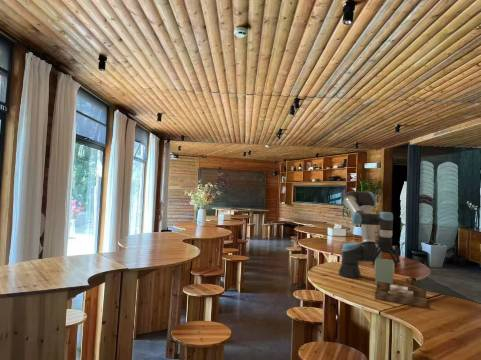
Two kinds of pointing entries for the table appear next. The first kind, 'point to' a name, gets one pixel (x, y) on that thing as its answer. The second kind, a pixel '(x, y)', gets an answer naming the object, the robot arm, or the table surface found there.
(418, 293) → the rack
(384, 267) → the grey-green flat block
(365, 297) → the table surface
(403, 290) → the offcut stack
